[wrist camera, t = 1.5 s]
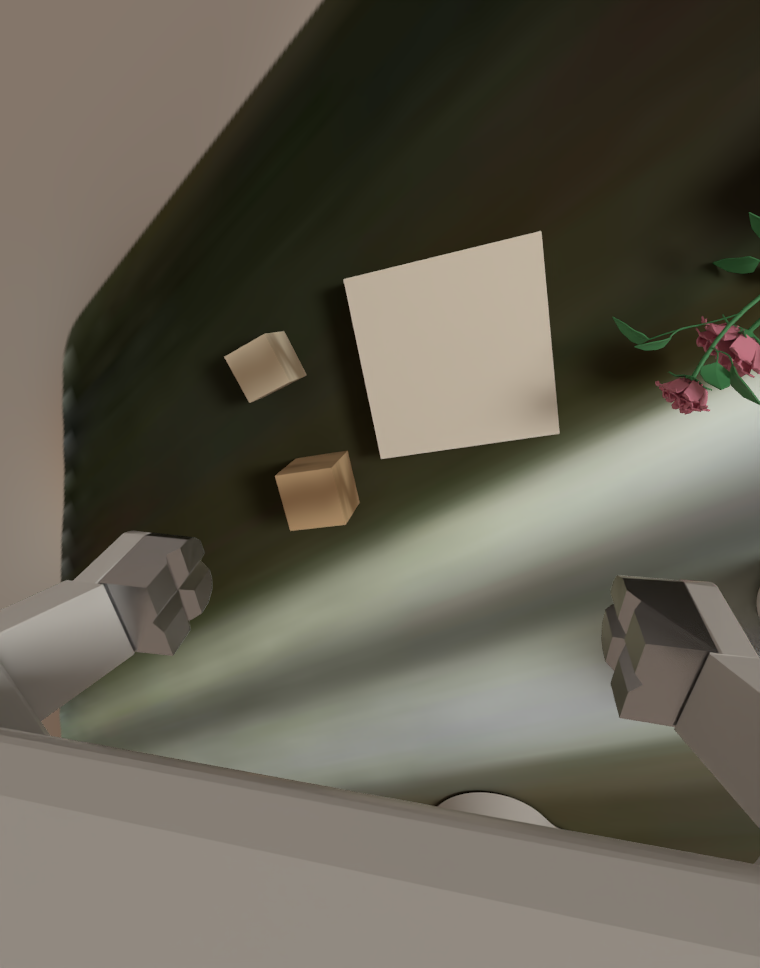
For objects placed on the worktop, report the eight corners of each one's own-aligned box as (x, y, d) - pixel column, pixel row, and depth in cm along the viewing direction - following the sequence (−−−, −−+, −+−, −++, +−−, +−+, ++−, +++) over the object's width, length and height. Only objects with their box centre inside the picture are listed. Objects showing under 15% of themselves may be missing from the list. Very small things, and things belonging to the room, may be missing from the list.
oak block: (359, 502, 45) (345, 524, 40) (309, 508, 46) (290, 530, 41) (347, 450, 43) (331, 467, 38) (296, 458, 44) (274, 475, 40)
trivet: (554, 425, 39) (559, 433, 36) (386, 450, 42) (381, 459, 40) (537, 235, 34) (541, 230, 32) (351, 280, 38) (343, 279, 36)
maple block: (307, 375, 41) (290, 381, 38) (269, 394, 43) (249, 402, 39) (284, 331, 40) (264, 333, 37) (246, 352, 42) (224, 356, 38)
